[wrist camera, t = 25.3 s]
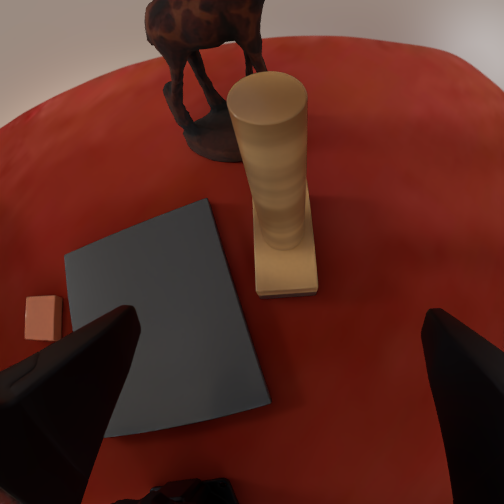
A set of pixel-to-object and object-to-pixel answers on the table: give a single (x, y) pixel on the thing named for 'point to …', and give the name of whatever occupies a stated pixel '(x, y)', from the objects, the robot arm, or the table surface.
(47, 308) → the block
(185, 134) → the statue
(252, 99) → the tan wooden tall post
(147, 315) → the board
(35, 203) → the table surface
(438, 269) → the table surface
